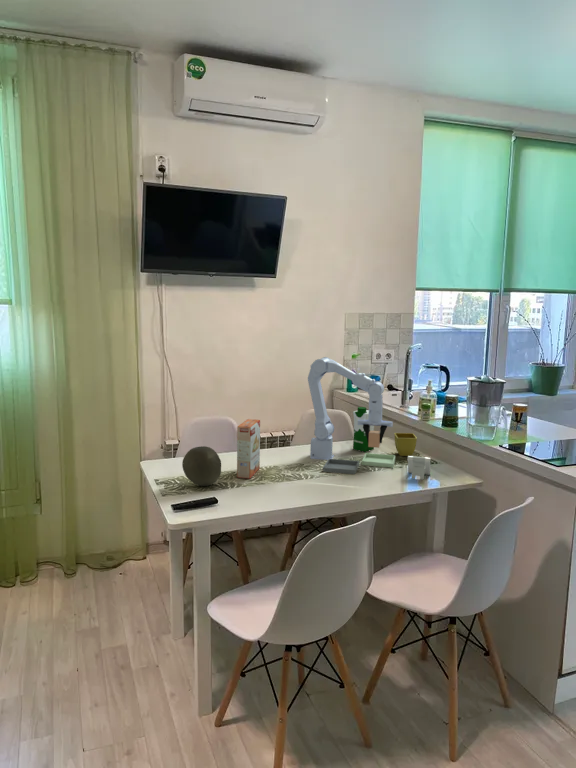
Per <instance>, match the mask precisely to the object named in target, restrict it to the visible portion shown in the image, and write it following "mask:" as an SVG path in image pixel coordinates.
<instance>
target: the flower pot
mask: <svg viewBox="0 0 576 768" xmlns="http://www.w3.org/2000/svg"><path fill="white" fill-rule="evenodd" d="M393 435H394V446H395V449H396V452H397V453H398V456H400V457H408V456H413V454H414V453H415V450H416V446H417V442H418V437H417V436H416V435H415V434H414V432H412V433H411V432H408V433H407V432H394V433H393Z"/></svg>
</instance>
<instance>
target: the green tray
mask: <svg viewBox="0 0 576 768" xmlns="http://www.w3.org/2000/svg"><path fill="white" fill-rule="evenodd" d="M395 463H396V454H385V453H373V452H371V453H369V452H364V455H363V458H362V460H361V466H369V467H370V466H371V467H378V468H379V467H381V468H382V467H383V468H391V469H392V470H393V469H394V467H395Z"/></svg>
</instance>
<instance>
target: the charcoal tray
mask: <svg viewBox="0 0 576 768" xmlns="http://www.w3.org/2000/svg"><path fill="white" fill-rule="evenodd" d="M359 466H360V460H350V459H349V460H348V459H340V458H339V459H337V458H332V459H328V460H326V462H325V464H324V465H323V467H322V472H326V473H327V472H328V473H334V474H335V473H336V474H346V475H347V474H349V475H355V474H356V473H357V471H358V469H359Z"/></svg>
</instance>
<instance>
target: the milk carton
mask: <svg viewBox="0 0 576 768" xmlns="http://www.w3.org/2000/svg"><path fill="white" fill-rule="evenodd" d="M352 415H353V442H352V450H354V449H355V450H354V451H358V450H360V451H359V452H362V451H364V452H363V453H367V452H369V450H370V451H373V450H375V447H368V444H369V443H368V442H367V437H366V434H365V431H364V429H363V425H358V420H368V416H369V409H367V407H365V406H358V407H357V410H354V411H352ZM370 431H375V426H373V425H370ZM366 451H367V452H366Z"/></svg>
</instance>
